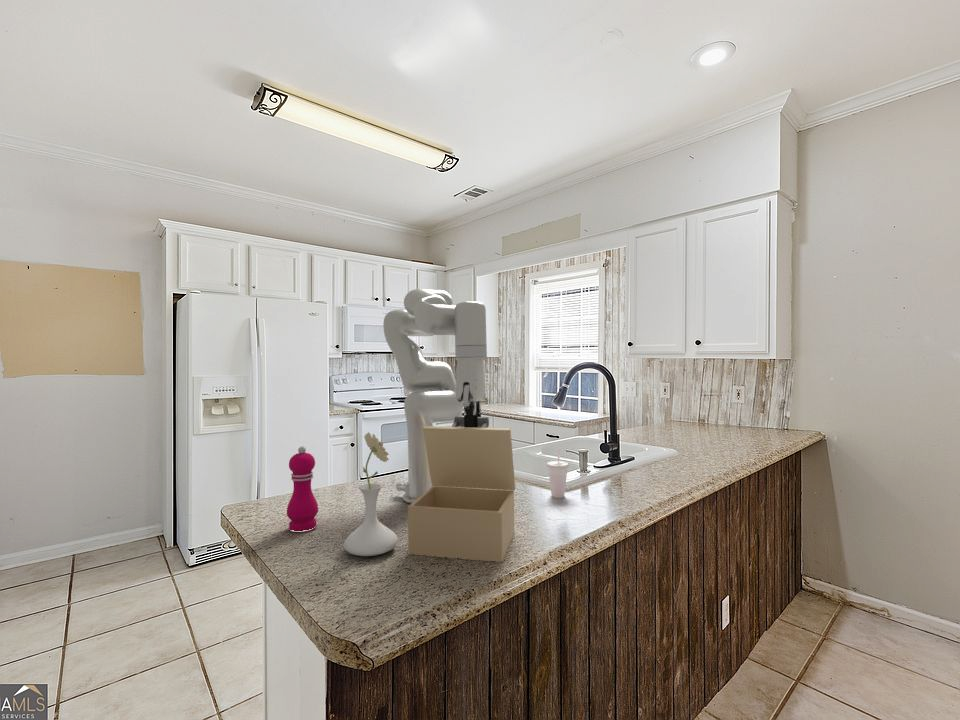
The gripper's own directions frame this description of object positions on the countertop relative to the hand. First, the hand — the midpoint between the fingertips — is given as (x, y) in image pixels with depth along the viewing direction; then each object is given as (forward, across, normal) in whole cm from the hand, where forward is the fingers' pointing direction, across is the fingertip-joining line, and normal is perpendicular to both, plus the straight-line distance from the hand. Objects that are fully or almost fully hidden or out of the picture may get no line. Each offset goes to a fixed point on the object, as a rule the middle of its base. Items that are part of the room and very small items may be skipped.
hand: (473, 430), depth 112 cm
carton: (+24, +7, -1) cm, 25 cm away
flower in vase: (+24, +14, -20) cm, 34 cm away
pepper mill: (+23, +7, -42) cm, 48 cm away
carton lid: (+6, +3, 0) cm, 7 cm away
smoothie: (+24, -33, +17) cm, 44 cm away
